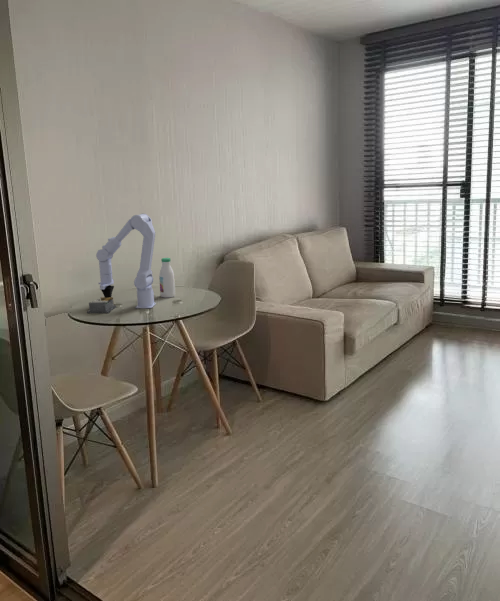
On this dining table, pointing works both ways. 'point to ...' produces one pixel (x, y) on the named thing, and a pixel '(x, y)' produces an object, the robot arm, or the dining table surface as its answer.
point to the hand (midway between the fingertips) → (108, 301)
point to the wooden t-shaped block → (106, 299)
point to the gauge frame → (101, 306)
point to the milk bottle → (166, 279)
